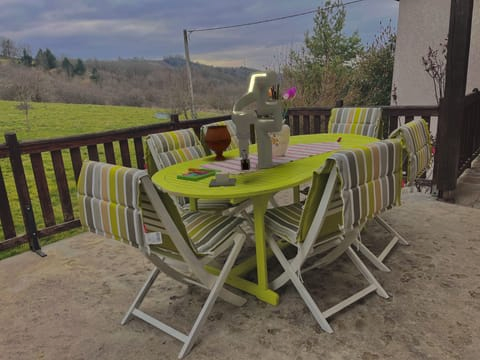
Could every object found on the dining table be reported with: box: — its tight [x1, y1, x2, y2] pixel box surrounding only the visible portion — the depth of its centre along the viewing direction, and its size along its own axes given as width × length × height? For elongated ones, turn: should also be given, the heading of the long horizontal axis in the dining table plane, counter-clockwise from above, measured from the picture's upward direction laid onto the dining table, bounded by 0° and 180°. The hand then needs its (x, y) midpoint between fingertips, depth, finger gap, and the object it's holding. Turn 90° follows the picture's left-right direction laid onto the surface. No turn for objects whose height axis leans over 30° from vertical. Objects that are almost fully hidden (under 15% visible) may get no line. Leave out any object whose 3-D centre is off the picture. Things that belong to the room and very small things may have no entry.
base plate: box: [208, 177, 237, 188], centre depth 206 cm, size 14×14×1 cm
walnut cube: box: [240, 158, 251, 171], centre depth 204 cm, size 5×5×5 cm
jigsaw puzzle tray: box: [176, 167, 222, 183], centre depth 231 cm, size 23×2×25 cm
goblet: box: [204, 124, 232, 162], centre depth 272 cm, size 19×19×25 cm
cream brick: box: [214, 171, 230, 183], centre depth 206 cm, size 5×7×5 cm
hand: (245, 168), depth 205 cm, fingers closed on walnut cube, 5 cm apart
